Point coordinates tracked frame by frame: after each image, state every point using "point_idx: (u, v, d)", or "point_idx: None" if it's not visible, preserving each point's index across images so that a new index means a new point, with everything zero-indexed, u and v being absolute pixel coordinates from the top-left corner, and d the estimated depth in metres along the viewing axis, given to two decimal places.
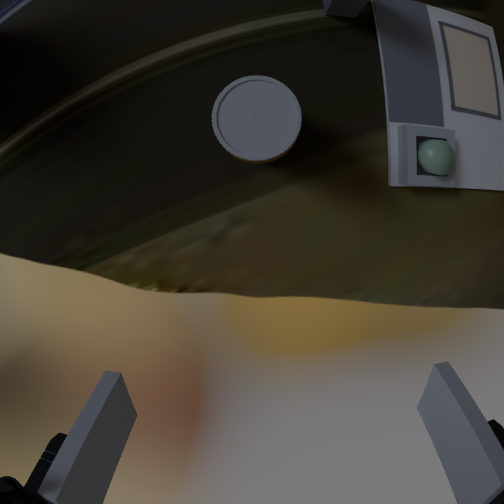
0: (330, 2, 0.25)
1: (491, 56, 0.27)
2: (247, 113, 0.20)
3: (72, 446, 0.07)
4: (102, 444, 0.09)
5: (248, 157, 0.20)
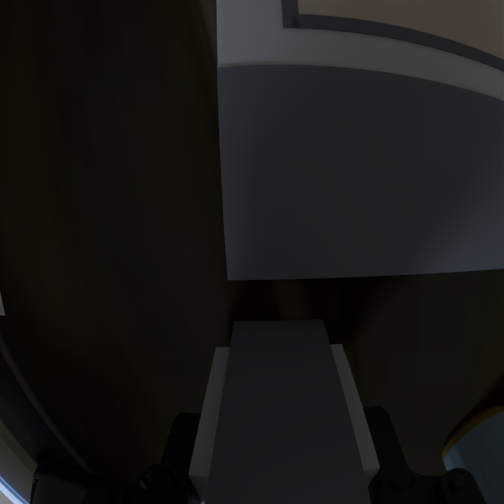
0: None
1: None
2: None
3: (212, 419, 0.09)
4: None
5: None
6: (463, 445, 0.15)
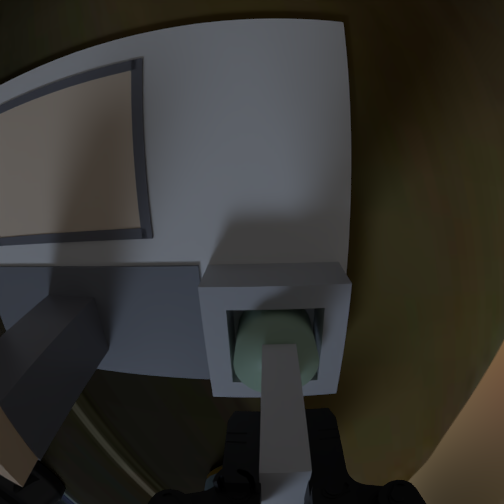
0: None
1: (11, 105, 0.13)
2: None
3: (273, 416, 0.09)
4: None
5: None
6: (207, 483, 0.23)
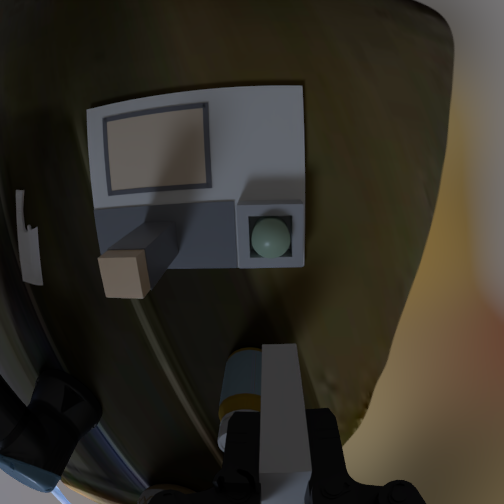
0: None
1: (126, 116, 0.32)
2: None
3: (273, 416, 0.09)
4: None
5: None
6: (227, 362, 0.41)
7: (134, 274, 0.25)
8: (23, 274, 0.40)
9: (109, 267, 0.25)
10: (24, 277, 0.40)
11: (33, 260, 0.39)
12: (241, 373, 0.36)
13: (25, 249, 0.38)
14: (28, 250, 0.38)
